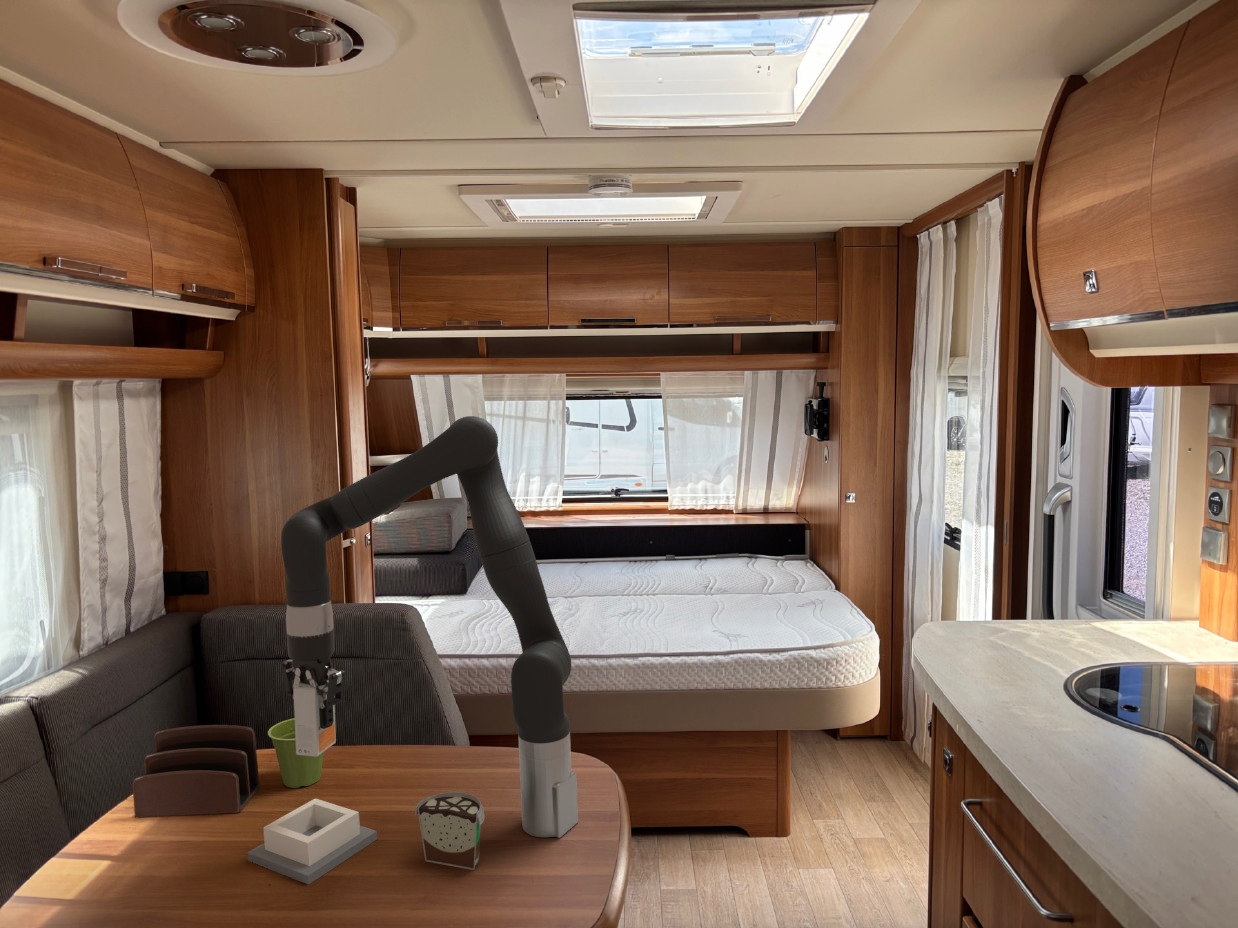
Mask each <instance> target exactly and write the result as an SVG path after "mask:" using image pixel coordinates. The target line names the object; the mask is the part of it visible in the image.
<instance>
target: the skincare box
mask: <svg viewBox="0 0 1238 928" xmlns="http://www.w3.org/2000/svg"><path fill="white" fill-rule="evenodd" d="M318 687H319V689H323V688H325V687H326V683H325V684H324V685H322V686H318ZM293 691H294V699H293V709H294V711H293V712H294V718H295V740H296V754H297V755H304V756H314V757H317V756H319V755H320V754H321V753H322V752H324V753H325V751H326V750H328V749H329V748H331V746H333V745H334V744H336V743H337V742H336V741H337V738H336V737H337V736H336V733H337V732H336V714H335V713H336V708H335V707H336V704H335V705H333V714H334V717H333V718H334V722H333V725H332V726H330V727H328V728H326V729H322V728H320V715H319V708H320V706H319V701H318V695H316V688H313V687H311V686H310V685H308V684H304V683H301V684H299V685H297V686H296V687H294V688H293ZM323 696H324V699H325V700H326V699H327V695H326V693H323Z"/></svg>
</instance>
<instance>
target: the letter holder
mask: <svg viewBox="0 0 1238 928" xmlns="http://www.w3.org/2000/svg"><path fill="white" fill-rule="evenodd" d="M256 741H257V740H256V735H255V730H254V729H253V728H252V727H250V726H245V725H244V726H243V725H234V724H233V725H232V724H207V725H203V724H202V725H191V726H181V727H174V728H167V729H162V730H158V731H156V732H155V733H154V736H153V742H154V750H155V752H154V753H150V754H147V755H146V756H145V757H144V759H143V769H144V775H141V776H138V777H135V778H134V779H133V781H132V797H133V811H134V818H136V817H138V818H152V817H153V818H157V817H158V816H159V817H178V816H180V817H181V816H199V815H200V816H201V815H202V816H203V815H218V814H219V815H222V814H223V815H225V814H226V815H227V814H240V813H241V812H242V811H243V810H244V809H245V807H246V806H247V805H248V804H249V802H250V801H251V800H252V799H253V797H254V796H255V795H256V794H257V793H258V792H259V790H260V788H261V787H260V786H261V784H260V775H259V774H260V773H259V765H258V754H257V745H256V744H257V743H256ZM243 808H244V809H243Z"/></svg>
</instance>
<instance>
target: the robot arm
mask: <svg viewBox="0 0 1238 928" xmlns="http://www.w3.org/2000/svg"><path fill="white" fill-rule="evenodd" d="M498 447H499V436H498V434H497V431H496V429H495V427H494V426H493V425H492V424H491V423H490V421H487V420H486V419H484V418H483V417H479V416H476V415H473V416H472V415H469V416H468V415H467V416H463V417H460V418H458V419H456V420H455V421H453V423H451V424H450V425H449V427H448V428H446V429H445V430H444V431H443V432H442V433H440V434H439V435H438V436H436V437H435V438H434V439H432V440H431V441H430V442H428V443H426V445H424V446H422V447H421V448H420V449H417V450H416V451H414V452H413V453H411V454H409V455H407V456H405V457H403V458H402V459H401V458H400V460H398V461H396V462H394V463H391V464H389V465H387V466H386V467H383V468H381V469H379V470H377V471H374V472H373V473H371V474H368V475H367V476H365V477H363V478H361V479H358V480H357V481H356V482H353V483H351V484H349V485H347V486H346V487H344V488H342V489H341V490H339V491H338V492H336V493H334V494H333V495H331V496H329V497H327V498H324V499H323V500H319V501H318V502H315V503H313V504H310V505H309V506H307V507H304V508H302V509H300V510H299V511H297V512H295V513H294V514H293V515H291V516H290V517H289V518H288V520H287V521H286V522H285V523H284V525H283V526H282V530H281V536H280V542H281V543H280V545H281V553H282V555H281V556H282V560H283V567H284V571H285V577H286V578H285V591H286V592H285V593H286V614H285V622H286V627H285V628H286V640H287V641H286V643H287V655H288V657H289V659H288V660H284V661H282V662H281V663H280V670H281V675H282V680H283V685H284V690H285V694H286V695H287V697H290V696H291V697H292V699H293V700H294V691H293V688H294V687H296V686H297V685H299V684H301V683H304V684H308V685H310V686H311V687H313V688H316V695H318V701H319V706H320V708H319V715H320V728H322V729H326V728H328V727H330V726H332V725H333V722H334V718H333V717H334V714H333V705H335V706H336V705H337V704H339V703H341V702H343V697H344V690H345V689H344V688H345V681H346V671H345V670H344V669H340V670H336V669H335V668H334V667H333V663H332V660H331V657H332V655H333V653H334V652H335V647H336V646H335V629H334V613H333V612H334V610H333V606H332V601H331V600H332V599H331V580H330V573H329V571H328V569H327V548H326V547H327V542H328V541H330V540H332V539H334V538H335V537H337V536H339V535H341V534H343V533H345V532H346V531H348V530H355V529H357V528H360V527H362V526H364V525H365V524H368V523H370V522H371V521H374V520H375V519H377V518H379V517H380V516H382V515H384V514H386V513H387V512H389V511H391V510H393V509H394V508H396V507H397V506H399V505H401V504H402V503H404V502H406V501H407V500H408V499H410V498H411V497H413V496H414V495H416V494H418V493H419V492H421V491H422V490H425V489H426V488H428V487H430V486H432V485H434V484H436V483H438V482H440V481H442V480H444V479H446V478H449V477H452V476H454V475H457V477H458V480H459V482H460V483H461V486H462V490H463V491H464V494H465V497H466V501H467V505H468V508H469V514H470V520H471V523H472V524H471V525H472V530H473V531H472V532H473V535H474V539H475V545H476V548H477V552H478V555H479V557H480V560H481V561H480V562H481V565H482V568H483V570H484V573H485V577H486V579H487V581H488V584H489V586H490V587H491V590H492V591H493V592H494V594H495V595H496V596H497V598H498V599H499V600H500V602H501V603H502V604H503V606H504V608H506V610H507V611H508V613H509V614H510V616H511V618H512V621H513V622H514V625H515V628H516V631H517V634H518V638H519V641H520V646H521V653H520V655H519V656H518V657H517V658H516V659H515V661H514V663H513V665H512V668H511V672H510V673H511V675H510V687H511V689H510V690H511V698H512V701H511V702H512V713H513V719H514V722H515V725H516V726H517V734H518V735H517V736H518V737H517V738H518V755H519V756H518V757H519V759H518V760H519V781H520V782H519V783H520V804H521V806H520V807H521V821H522V822H521V823H522V830H523V831H524V832H526V834H527V835H530V836H532V837H536V838H537V837H538V838H551V837H554V838H559V839H560V838H562V837H563V836H564V835H566V834H567V832H568V831H570V829H572V828H573V827H574V826H575V825H576V824H577V823H579V814H578V811H579V809H578V788H577V787H578V784H577V772H576V771H573V770H572V756H571V755H572V754H571V750H572V749H571V722H570V721H571V720H570V717H569V715H568V714H567V712H565V708H564V693H563V691H564V690H563V689H564V688H563V687H564V685H565V683H566V682H567V680H568V679H569V677H570V674H571V671H572V659H571V658H572V657H571V654H570V651H569V649H568V647H567V644H566V642H565V639H564V637H563V636H562V633H561V632H560V629H559V626H558V624H557V622H556V620H555V617H554V614H553V612H552V609H551V607H550V603H549V600H548V596H547V592H546V589H545V586H544V583H543V579H542V576H541V573H540V569H539V566H538V562H537V559H536V555H535V553H534V550H533V549H534V548H533V546H532V543H531V541H530V537H529V534H528V532H527V529H526V527H525V524H524V522H523V520H522V518H521V516H520V513H519V511H518V510H517V507H516V505H515V503H514V501H513V500H512V498H511V496H510V493H509V491H508V488H507V486H506V483H505V479H504V476H503V475H504V474H503V471H502V466H501V461H500V457H499V452H498ZM292 681H293V685H292ZM325 683H326V687H325V688H323V689H319V687H318V686H322V685H324V684H325ZM323 693H326V695H327V699H326V700H325V699H324V696H323Z"/></svg>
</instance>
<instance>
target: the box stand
mask: <svg viewBox="0 0 1238 928" xmlns="http://www.w3.org/2000/svg"><path fill="white" fill-rule="evenodd" d="M263 839H264V842H263V843H262V844H260V845H258V846H256V847H254V848H253V849H251V850H249V851H248V852H247V853H246V854H247V861H248V862H250V861H251V862H250V863H252V862H253V864H255V863H256V865H257V864H258V865H257V866H260V867H262V866H264V867H263V868H265V869H267V868H268V870H270V871H273V872H274V873H275V872H276V873H278V874H280V875H284V876H285V875H286V876H285V877H288V878H290V877H291V878H290V879H293V880H296V881H299V882H301V883H304V884H306V885H310V884H311V883H313V882H314V881H316V880H317V879H319V878H320V877H323V876H325V875H326V873H328V872H330V871H331V870H333V869H334V868H336V867H337V866H340V864H342V863H343V862H345V861H346V860H348V859H350V858H351V857H353V856H354V855H356V854H357V853H359V852H360V851H362V850H363V849H365V848H366V847H368V846H369V845H371V844H372V843H374V842H376V840H378V831H377V830H374V829H372V828H369V827H366V826H363V825H360V812H359V811H356V810H353V809H350V808H347V807H344V806H340V805H338V804H334V803H331V802H328V801H325V800H321V799H318V798H314V799H312V800H310V801H308V802H306V803H304V804H303V805H301V806H299V807H297V808H295V809H294V810H292V811H289V812H288V813H287V814H285V815H283V816H281V817H278V819H276V820H274V821H273V822H271V823H269V824H267V825H265V826H264V827H263Z"/></svg>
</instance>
